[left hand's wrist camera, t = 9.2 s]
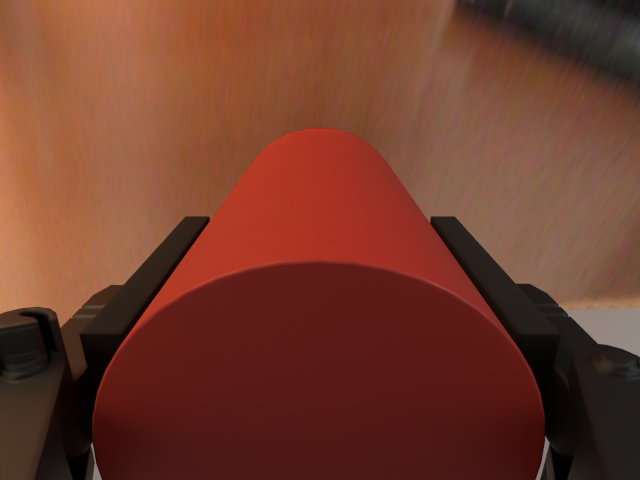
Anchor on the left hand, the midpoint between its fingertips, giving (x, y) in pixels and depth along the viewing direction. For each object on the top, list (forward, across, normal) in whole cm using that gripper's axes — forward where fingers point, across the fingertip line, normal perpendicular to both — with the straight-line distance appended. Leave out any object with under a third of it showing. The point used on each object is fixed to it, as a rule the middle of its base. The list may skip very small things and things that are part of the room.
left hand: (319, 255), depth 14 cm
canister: (+5, 0, 0) cm, 5 cm away
